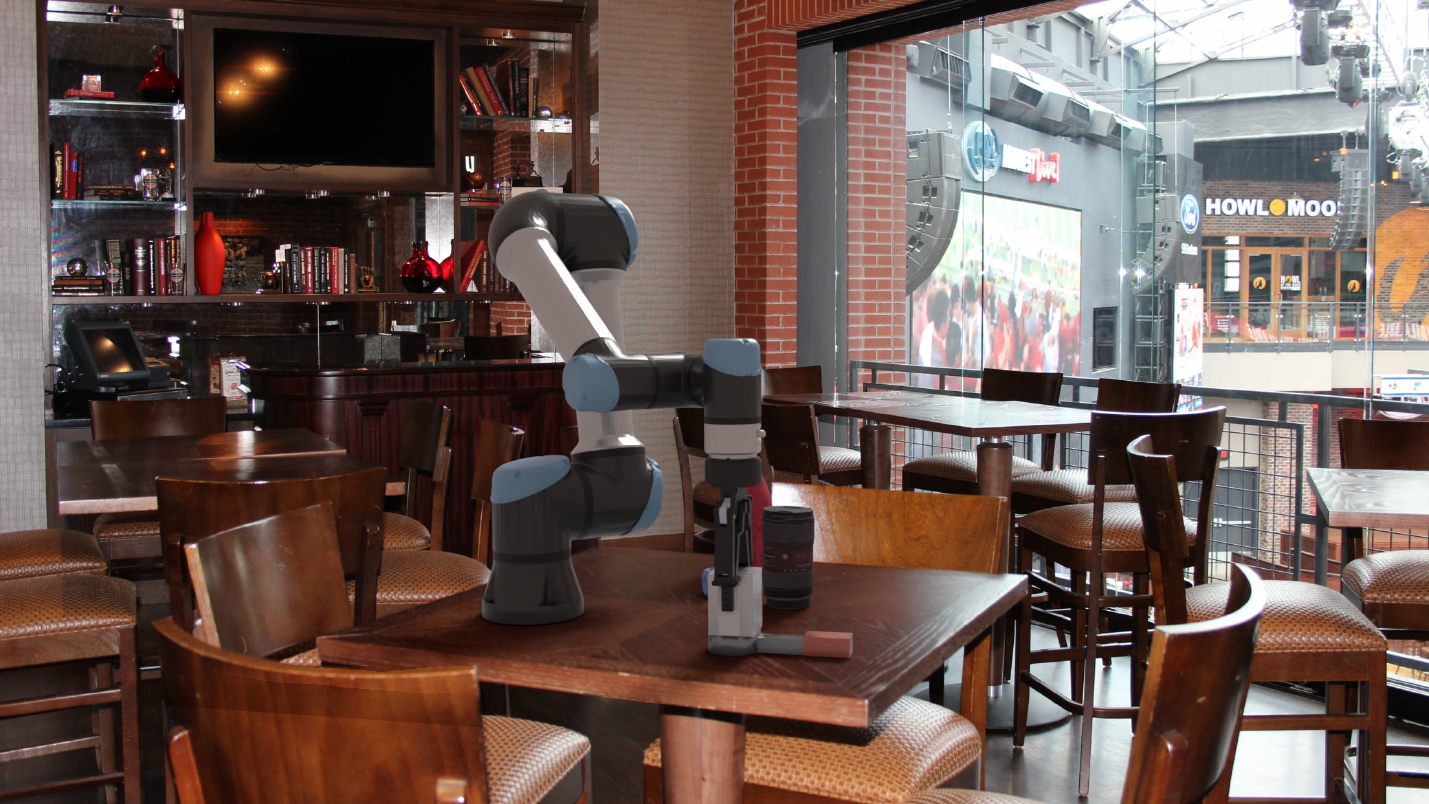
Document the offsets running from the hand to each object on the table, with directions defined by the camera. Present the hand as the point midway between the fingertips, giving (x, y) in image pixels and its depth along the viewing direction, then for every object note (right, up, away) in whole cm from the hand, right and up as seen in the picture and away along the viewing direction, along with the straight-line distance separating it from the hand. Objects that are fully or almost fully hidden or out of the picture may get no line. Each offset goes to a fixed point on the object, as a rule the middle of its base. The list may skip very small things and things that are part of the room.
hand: (734, 628), depth 163 cm
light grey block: (0, 0, 0) cm, 0 cm away
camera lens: (+9, -1, +26) cm, 28 cm away
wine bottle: (+3, 0, +52) cm, 52 cm away
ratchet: (+6, -3, -1) cm, 7 cm away
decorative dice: (-2, -1, +35) cm, 35 cm away
